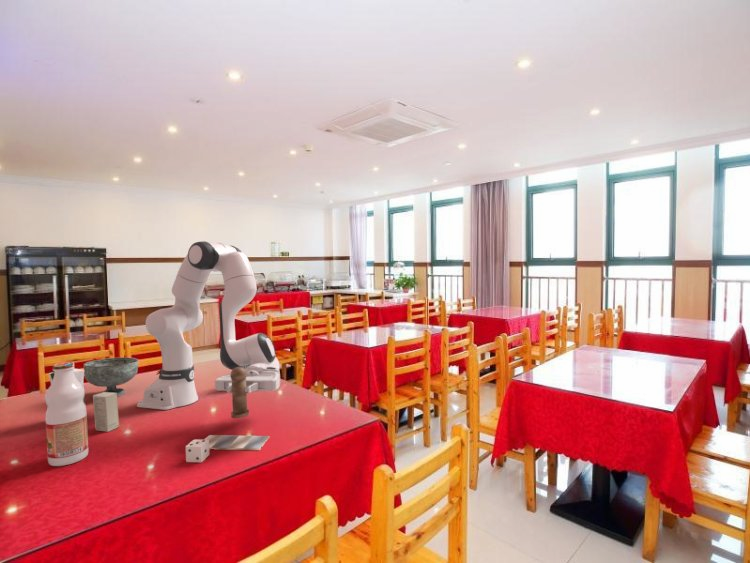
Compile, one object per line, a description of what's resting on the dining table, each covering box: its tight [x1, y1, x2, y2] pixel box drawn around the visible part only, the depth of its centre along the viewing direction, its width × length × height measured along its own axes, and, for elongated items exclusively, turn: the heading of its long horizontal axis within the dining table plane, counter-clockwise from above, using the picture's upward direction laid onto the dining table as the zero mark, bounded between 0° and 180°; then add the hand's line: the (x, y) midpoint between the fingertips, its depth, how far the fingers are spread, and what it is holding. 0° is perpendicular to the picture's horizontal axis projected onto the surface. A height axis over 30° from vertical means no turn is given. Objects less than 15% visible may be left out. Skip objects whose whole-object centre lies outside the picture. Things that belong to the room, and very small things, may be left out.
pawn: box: [229, 367, 250, 419], centre depth 123 cm, size 5×5×15 cm
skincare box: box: [92, 391, 120, 432], centre depth 137 cm, size 6×4×12 cm
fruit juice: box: [44, 361, 90, 467], centre depth 116 cm, size 9×9×28 cm
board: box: [203, 434, 270, 451], centre depth 124 cm, size 20×9×1 cm, turn 85°
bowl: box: [83, 356, 140, 397], centre depth 174 cm, size 20×19×15 cm
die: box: [185, 438, 210, 463], centre depth 115 cm, size 5×5×5 cm
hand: (238, 390), depth 123 cm, fingers closed on pawn, 4 cm apart
